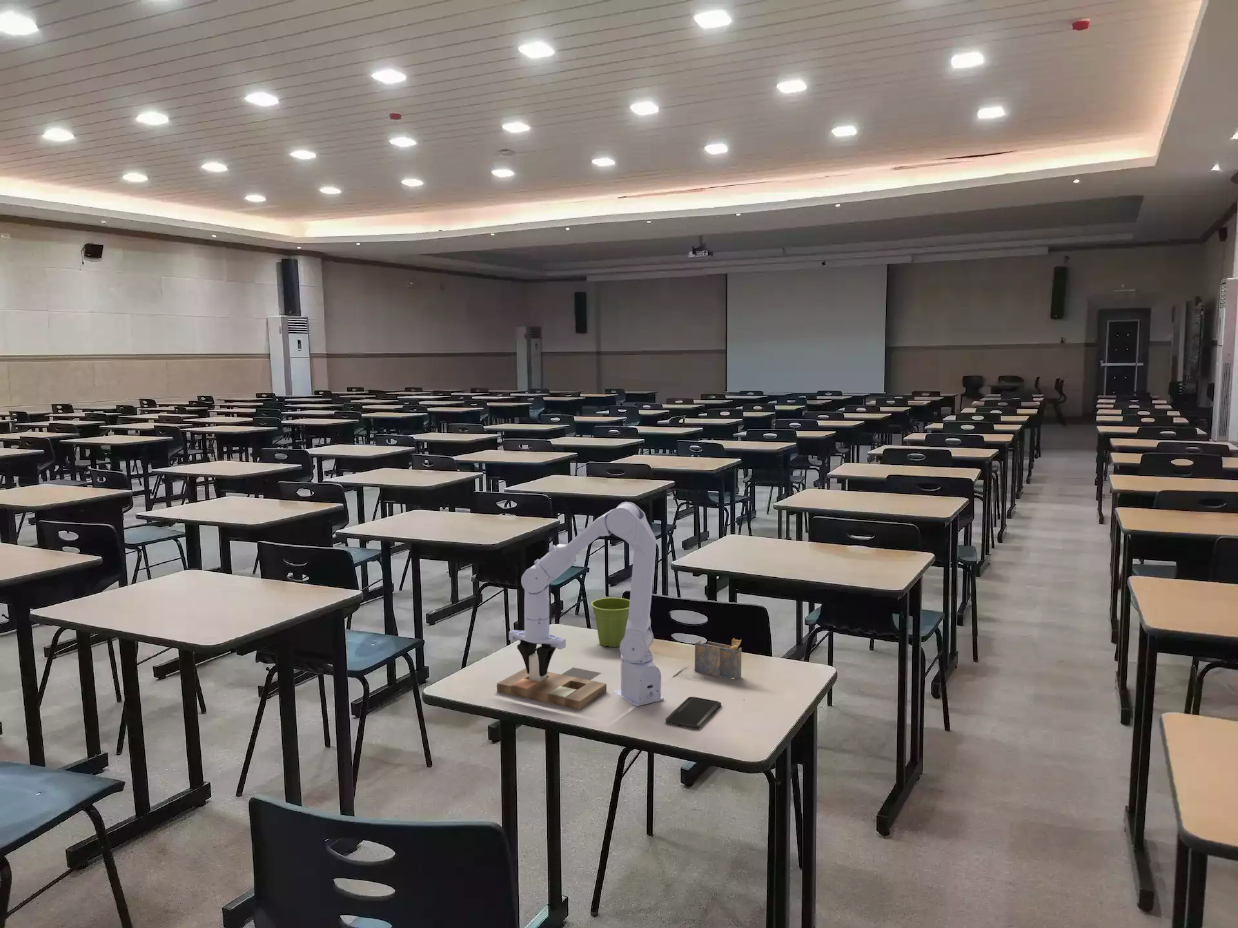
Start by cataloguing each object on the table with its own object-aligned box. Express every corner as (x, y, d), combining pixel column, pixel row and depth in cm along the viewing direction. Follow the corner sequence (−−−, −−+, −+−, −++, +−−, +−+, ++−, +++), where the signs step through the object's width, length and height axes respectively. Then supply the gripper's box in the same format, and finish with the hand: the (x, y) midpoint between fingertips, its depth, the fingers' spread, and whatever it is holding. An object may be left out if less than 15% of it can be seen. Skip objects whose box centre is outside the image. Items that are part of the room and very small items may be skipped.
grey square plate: (601, 675, 205) (601, 672, 205) (584, 685, 198) (584, 683, 198) (573, 669, 208) (573, 667, 208) (555, 679, 201) (555, 677, 201)
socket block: (606, 693, 193) (606, 682, 192) (579, 712, 182) (579, 700, 182) (526, 677, 203) (526, 666, 203) (497, 693, 192) (496, 682, 192)
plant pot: (581, 643, 229) (581, 603, 227) (611, 634, 237) (611, 595, 236) (613, 653, 221) (614, 611, 220) (643, 643, 230) (643, 602, 228)
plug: (546, 679, 197) (546, 654, 196) (539, 683, 194) (539, 658, 194) (536, 676, 198) (536, 652, 198) (529, 680, 196) (529, 655, 195)
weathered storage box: (741, 677, 205) (742, 639, 204) (736, 681, 202) (737, 642, 201) (700, 668, 211) (701, 631, 210) (694, 672, 208) (695, 634, 207)
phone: (722, 702, 187) (698, 726, 173) (722, 706, 187) (698, 732, 173) (689, 695, 190) (663, 719, 177) (689, 700, 190) (663, 724, 177)
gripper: (572, 616, 194) (572, 673, 196) (520, 608, 201) (521, 663, 203) (556, 624, 188) (556, 683, 190) (503, 615, 195) (503, 672, 196)
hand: (537, 673), depth 196 cm, fingers closed on plug, 3 cm apart
